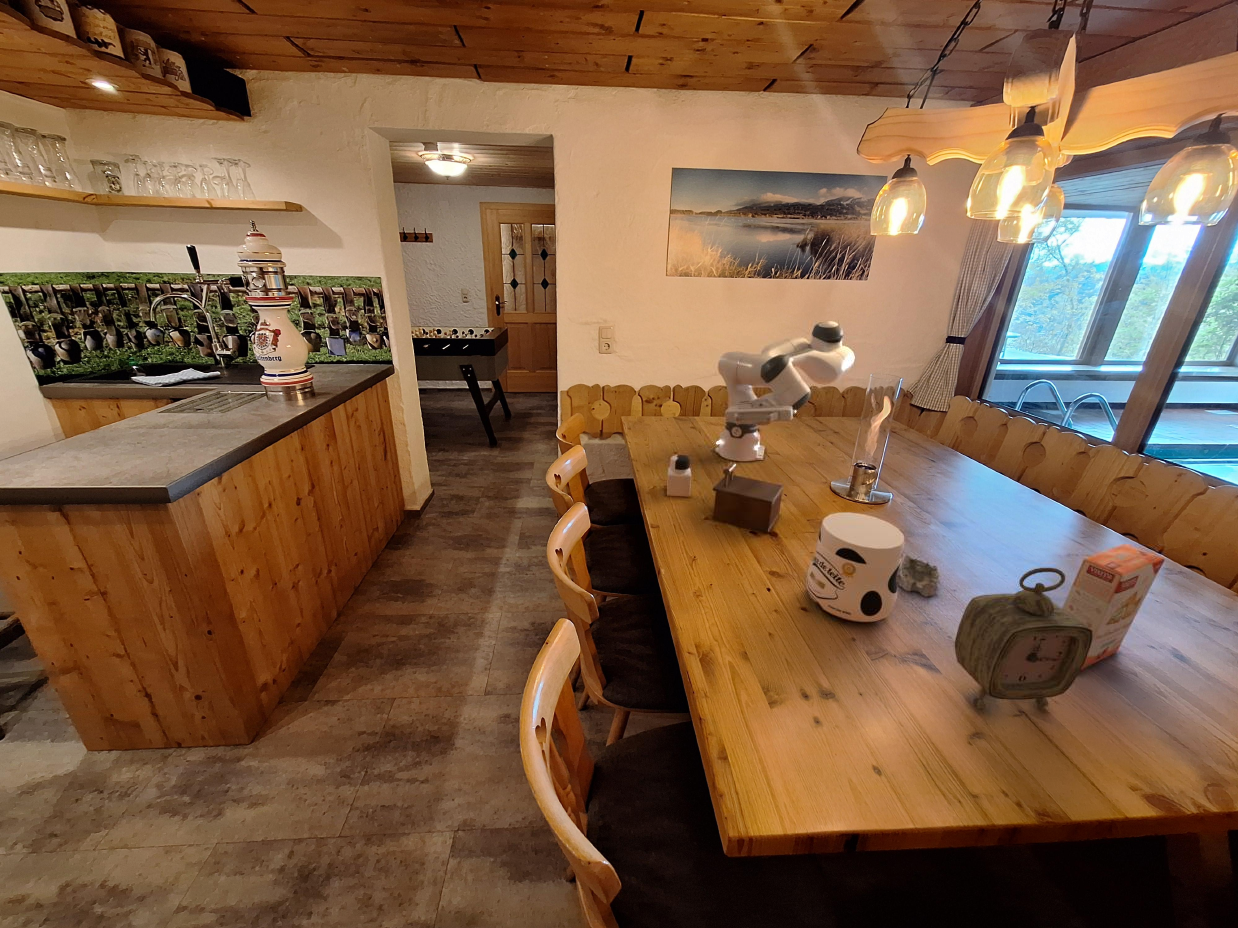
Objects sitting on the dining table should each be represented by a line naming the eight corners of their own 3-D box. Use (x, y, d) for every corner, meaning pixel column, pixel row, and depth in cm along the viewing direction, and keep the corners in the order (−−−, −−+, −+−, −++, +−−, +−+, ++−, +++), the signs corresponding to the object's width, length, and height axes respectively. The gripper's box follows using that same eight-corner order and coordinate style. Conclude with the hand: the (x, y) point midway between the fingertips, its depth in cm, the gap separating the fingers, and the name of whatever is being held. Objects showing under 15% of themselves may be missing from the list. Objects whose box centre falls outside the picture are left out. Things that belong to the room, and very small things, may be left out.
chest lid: (712, 490, 137) (714, 470, 135) (727, 476, 147) (729, 457, 145) (771, 504, 129) (774, 483, 127) (782, 487, 139) (785, 468, 137)
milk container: (789, 603, 104) (802, 529, 98) (821, 571, 116) (835, 502, 109) (876, 643, 93) (897, 562, 87) (901, 602, 105) (921, 529, 99)
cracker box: (1079, 675, 86) (1125, 575, 79) (1040, 652, 92) (1080, 556, 84) (1120, 653, 92) (1168, 557, 84) (1082, 633, 97) (1123, 541, 89)
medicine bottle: (688, 487, 160) (691, 453, 156) (689, 497, 153) (692, 461, 149) (667, 486, 161) (669, 452, 156) (666, 495, 154) (669, 460, 150)
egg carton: (933, 600, 106) (938, 584, 105) (894, 587, 110) (898, 572, 109) (937, 577, 114) (942, 562, 113) (901, 566, 118) (905, 551, 117)
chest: (712, 519, 140) (715, 491, 136) (727, 503, 150) (729, 476, 147) (767, 533, 132) (771, 504, 129) (778, 515, 143) (782, 488, 139)
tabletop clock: (974, 717, 78) (1023, 585, 69) (937, 673, 86) (976, 551, 77) (1060, 714, 79) (1120, 583, 70) (1015, 671, 87) (1063, 550, 78)
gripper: (798, 420, 151) (789, 428, 140) (733, 421, 162) (720, 429, 150) (797, 400, 150) (788, 407, 138) (732, 402, 160) (718, 409, 149)
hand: (752, 418), depth 144 cm, fingers open, 8 cm apart
